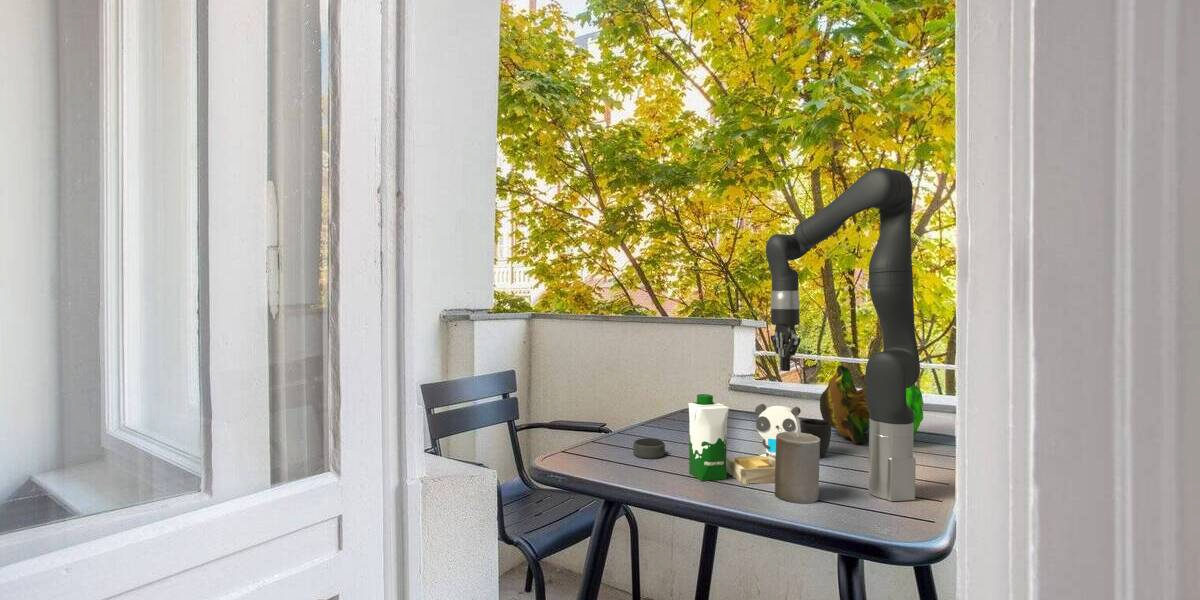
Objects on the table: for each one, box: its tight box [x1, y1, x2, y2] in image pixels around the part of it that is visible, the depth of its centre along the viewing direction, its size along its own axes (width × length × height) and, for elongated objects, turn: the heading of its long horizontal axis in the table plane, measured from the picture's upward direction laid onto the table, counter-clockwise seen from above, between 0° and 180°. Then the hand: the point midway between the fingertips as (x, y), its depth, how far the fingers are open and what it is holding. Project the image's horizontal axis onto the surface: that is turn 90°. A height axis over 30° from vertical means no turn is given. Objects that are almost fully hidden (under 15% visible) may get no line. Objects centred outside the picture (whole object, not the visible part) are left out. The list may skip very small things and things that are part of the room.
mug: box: [799, 418, 832, 459], centre depth 175 cm, size 8×12×10 cm
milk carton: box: [688, 393, 730, 482], centre depth 153 cm, size 9×9×20 cm
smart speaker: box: [632, 438, 666, 460], centre depth 172 cm, size 9×9×4 cm
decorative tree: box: [819, 364, 925, 445], centre depth 191 cm, size 27×28×30 cm
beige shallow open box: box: [726, 456, 775, 485], centre depth 153 cm, size 11×12×4 cm
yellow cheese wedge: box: [733, 455, 769, 469], centre depth 153 cm, size 8×8×4 cm
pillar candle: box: [774, 431, 821, 504], centre depth 138 cm, size 10×10×15 cm
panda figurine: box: [754, 403, 802, 459], centre depth 167 cm, size 12×11×15 cm
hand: (785, 370), depth 166 cm, fingers closed
